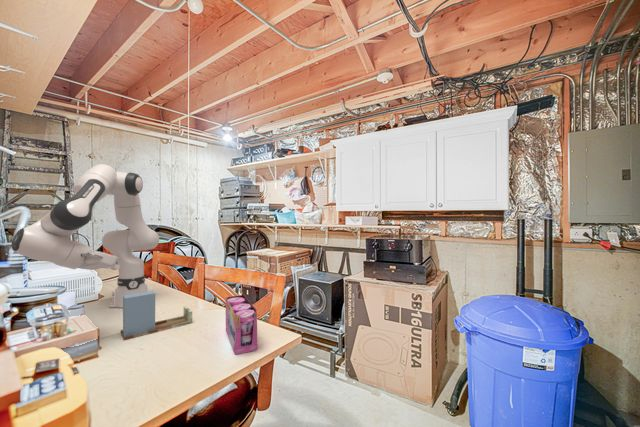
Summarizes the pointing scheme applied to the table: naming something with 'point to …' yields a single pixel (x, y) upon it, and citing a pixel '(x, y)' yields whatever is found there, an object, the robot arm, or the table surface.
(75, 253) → the robot arm
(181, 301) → the table surface
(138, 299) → the pillar block
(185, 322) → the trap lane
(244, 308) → the gum box
